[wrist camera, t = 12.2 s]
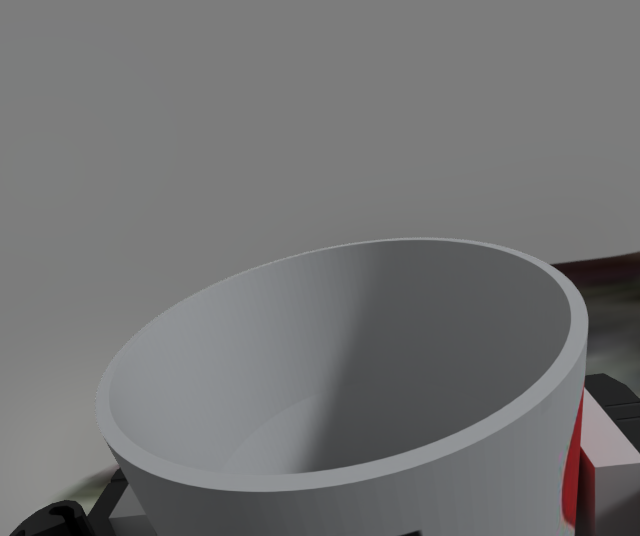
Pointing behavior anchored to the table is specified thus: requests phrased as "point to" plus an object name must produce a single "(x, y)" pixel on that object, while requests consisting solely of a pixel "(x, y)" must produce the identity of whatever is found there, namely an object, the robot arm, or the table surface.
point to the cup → (358, 397)
